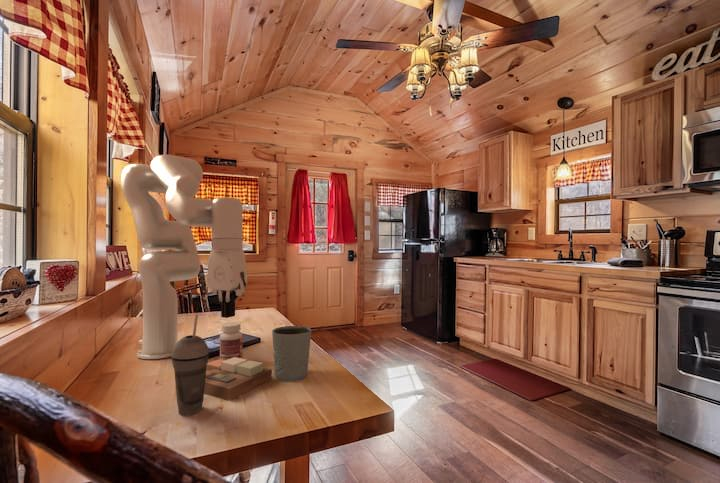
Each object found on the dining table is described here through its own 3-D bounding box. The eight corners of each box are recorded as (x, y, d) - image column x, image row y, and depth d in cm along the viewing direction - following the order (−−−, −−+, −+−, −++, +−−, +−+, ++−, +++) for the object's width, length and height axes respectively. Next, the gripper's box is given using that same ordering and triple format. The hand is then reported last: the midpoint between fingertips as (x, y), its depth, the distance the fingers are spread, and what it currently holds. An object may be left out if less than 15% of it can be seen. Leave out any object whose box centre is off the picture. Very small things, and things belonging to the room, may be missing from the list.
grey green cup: (264, 379, 95) (264, 332, 95) (285, 366, 105) (285, 323, 105) (299, 384, 92) (299, 336, 92) (317, 371, 101) (318, 327, 101)
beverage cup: (179, 403, 81) (179, 311, 81) (213, 402, 82) (214, 311, 82) (164, 419, 74) (164, 318, 74) (202, 418, 75) (202, 318, 75)
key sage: (236, 373, 92) (236, 365, 92) (249, 368, 96) (249, 360, 96) (250, 376, 90) (250, 368, 90) (263, 371, 94) (263, 363, 94)
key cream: (220, 369, 95) (220, 361, 95) (234, 364, 99) (234, 357, 99) (233, 372, 93) (233, 364, 93) (247, 367, 97) (247, 359, 97)
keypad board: (175, 385, 91) (175, 372, 91) (221, 367, 104) (221, 356, 104) (229, 400, 83) (229, 386, 83) (271, 379, 95) (271, 367, 95)
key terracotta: (205, 371, 97) (205, 363, 97) (219, 366, 101) (219, 358, 101) (218, 374, 95) (218, 366, 95) (231, 369, 99) (231, 361, 99)
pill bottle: (245, 364, 106) (245, 324, 106) (222, 368, 103) (222, 327, 103) (238, 358, 112) (239, 320, 112) (217, 362, 108) (217, 323, 108)
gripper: (195, 246, 97) (196, 317, 97) (237, 245, 90) (238, 322, 90) (218, 245, 103) (219, 312, 103) (259, 245, 96) (260, 316, 96)
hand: (228, 316), depth 97 cm, fingers closed
